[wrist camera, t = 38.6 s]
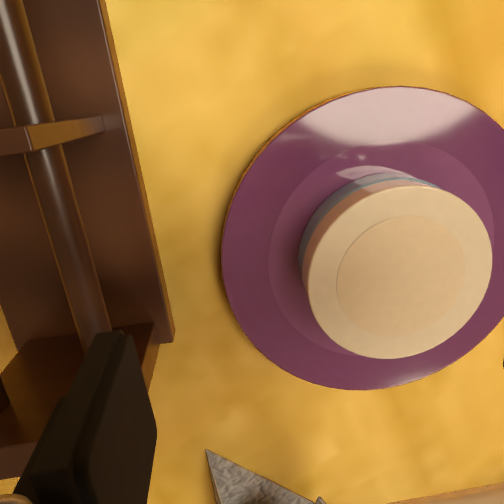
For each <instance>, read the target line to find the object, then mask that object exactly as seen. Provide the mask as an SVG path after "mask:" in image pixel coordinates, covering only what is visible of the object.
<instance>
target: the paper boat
mask: <svg viewBox="0 0 504 504" xmlns="http://www.w3.org/2000/svg"><path fill="white" fill-rule="evenodd" d="M205 450H206V455H207V459H208V464H209V469H210V474H211V479H212V484H213V489H214V493H215V498H216V503H217V504H314V503H313V502H311V501H309V500H307V499H305V498H303V497H301V496H299V495H297V494H295V493H293V492H291V491H289V490H287V489H285V488H283V487H281V486H279V485H277V484H275V483H273V482H271V481H269V480H267V479H265V478H263V477H261V476H259V475H257V474H255V473H253V472H251V471H249V470H247V469H245V468H243V467H241V466H239V465H237V464H235V463H233V462H231V461H229V460H227V459H225V458H223V457H221V456H219V455H217V454H215V453H213V452H211V451H209V450H207V449H205ZM315 504H326V503H325V502H324V501H323V499H322V498H321V497H318V498H317V500H316V502H315Z"/></svg>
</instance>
